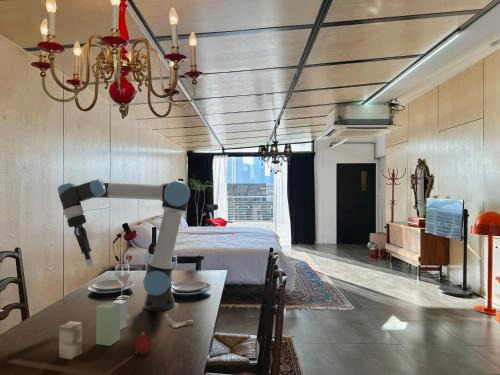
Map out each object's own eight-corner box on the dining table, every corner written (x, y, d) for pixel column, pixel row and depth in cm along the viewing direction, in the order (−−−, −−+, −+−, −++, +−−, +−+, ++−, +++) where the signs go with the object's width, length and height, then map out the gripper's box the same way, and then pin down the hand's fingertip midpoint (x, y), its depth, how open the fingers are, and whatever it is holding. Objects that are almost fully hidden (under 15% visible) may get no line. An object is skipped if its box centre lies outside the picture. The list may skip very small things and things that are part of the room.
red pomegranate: (136, 351, 129) (136, 329, 129) (152, 350, 130) (152, 328, 130) (132, 358, 123) (132, 335, 124) (149, 357, 124) (149, 334, 124)
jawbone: (179, 332, 148) (179, 327, 148) (149, 322, 161) (148, 318, 161) (195, 324, 156) (194, 320, 156) (164, 315, 168) (164, 311, 168)
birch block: (70, 354, 126) (70, 321, 127) (81, 356, 125) (81, 322, 125) (59, 361, 122) (59, 326, 122) (71, 363, 120) (71, 327, 120)
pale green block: (96, 343, 132) (96, 306, 133) (107, 337, 138) (107, 301, 138) (109, 345, 131) (109, 307, 131) (120, 339, 136) (120, 303, 137)
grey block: (116, 328, 152) (117, 299, 152) (126, 329, 150) (127, 300, 150) (109, 332, 147) (109, 303, 147) (119, 333, 145) (119, 304, 146)
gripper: (70, 220, 166) (85, 268, 164) (62, 218, 153) (79, 270, 152) (87, 215, 168) (102, 262, 166) (80, 213, 155) (97, 264, 154)
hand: (91, 266), depth 159 cm, fingers closed
